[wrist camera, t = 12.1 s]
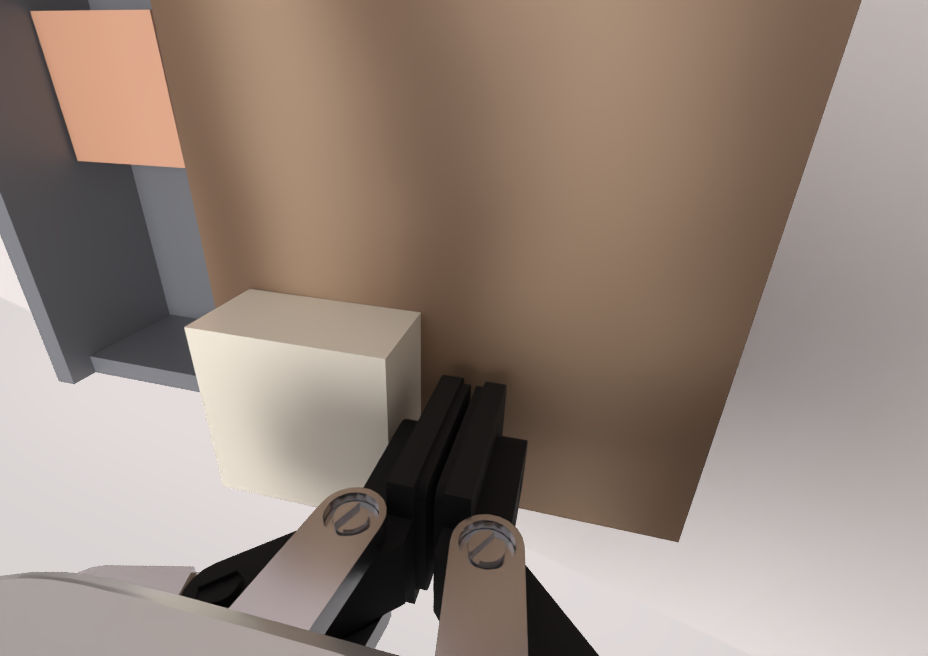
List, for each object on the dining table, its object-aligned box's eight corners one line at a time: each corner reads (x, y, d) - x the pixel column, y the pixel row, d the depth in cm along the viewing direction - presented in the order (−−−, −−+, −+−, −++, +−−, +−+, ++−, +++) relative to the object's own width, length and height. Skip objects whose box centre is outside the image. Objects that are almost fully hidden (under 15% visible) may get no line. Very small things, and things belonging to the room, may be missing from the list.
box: (313, -93, 16) (177, -181, 11) (349, 351, 24) (279, 425, 19) (60, -84, 18) (-156, -154, 13) (167, 322, 26) (58, 381, 21)
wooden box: (771, -87, 14) (953, -272, 7) (651, 390, 21) (678, 541, 14) (316, -74, 16) (108, -195, 9) (349, 342, 24) (245, 448, 17)
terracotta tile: (30, 11, 17) (94, 19, 19) (77, 161, 19) (130, 153, 21) (149, 9, 16) (203, 19, 18) (185, 168, 18) (229, 159, 20)
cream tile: (420, 312, 13) (385, 359, 10) (420, 460, 15) (391, 524, 13) (249, 288, 14) (184, 327, 11) (274, 431, 16) (223, 486, 14)
